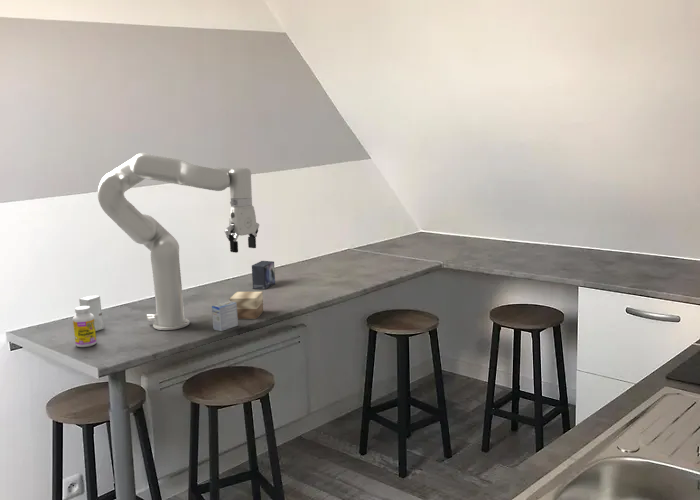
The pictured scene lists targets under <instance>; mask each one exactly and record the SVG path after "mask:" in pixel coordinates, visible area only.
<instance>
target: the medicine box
mask: <svg viewBox="0 0 700 500" xmlns="http://www.w3.org/2000/svg"><path fill="white" fill-rule="evenodd" d="M211 315H212V326H213V327H212V328H213V329H214V330H215V331H219V332H223V331H225V330H229V329H232V328H235V327H237V326H239V323H238V322H239V319H238V318H237V303H235V302H231V301H230V300H227V301H224V302H220V303H216V304H214V305H212V306H211Z"/></svg>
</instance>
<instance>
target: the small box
mask: <svg viewBox="0 0 700 500" xmlns="http://www.w3.org/2000/svg"><path fill="white" fill-rule="evenodd" d="M275 270H276V269H275V261H269V260H260V261H258V262H256V263H254V264H252V265H251V279H252V290H253V289H255V290H267V289H268V288H271V287H272V286H274V285H276V276H275V275H276V273H275Z"/></svg>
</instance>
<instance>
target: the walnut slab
mask: <svg viewBox="0 0 700 500" xmlns="http://www.w3.org/2000/svg"><path fill="white" fill-rule="evenodd" d="M263 313H264V302H263V303H262V304H261V305H260V306H259V307H258V308H257V309H237V318H238V320H244V319H245V320H249V319H250V320H257V319H258V318H259V317H260V315H262V314H263Z"/></svg>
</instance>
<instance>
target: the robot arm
mask: <svg viewBox="0 0 700 500" xmlns="http://www.w3.org/2000/svg"><path fill="white" fill-rule="evenodd" d="M144 180H150V181H151V180H152V181H157V182H162V183H170V184H174V185H180V186H186V187H187V186H188V187H190V188H191V187H193V188H197V189H202V190H209V191H215V192H221V191H225V190H226V189H228V188H229V189H230V191H229V192H230V201H229V204H230V208H229V218H228V219H229V220H228V221H229V224H228V226H227V227H226V229H224V233H225V236H226V238H227V239H228V242H229V249H230V253H236V254H237V253H239V243H238V241H237V240H238V238H239V236H240V237H241V236H248V237H247V245H248V246H247V247H248V248H250V249H256V248H257V239H256V238H257V237H258V236H257V235H258V232H259V228H260V224H259V223H258V222H257V218H256V217H257V216H256V211H255V207H254V205H253V193H252V192H253V191H252V190H253V189H252V173H251V169H250V168H247V167H235V168H224V167H214V168H212V167H206V166H203V165H202V166H201V165H197V164H193V163H190V162H187V161H185V160H183V159H177V158H170V157H166V156H165V157H164V156H159V155H154V154H151V153H148V152H139V153H137V154H136V155H134V156H133V157H132V158H130V159H128V160H127V161H125V162H124V163H122V164H121V165H119V166H118V167H115V168H114V169H113V170H111V171H110V172H109V171H108V172H107V173H106V174H105V175H104V176H102V178H101V180H100V182H99V185H98V188H97V199H98V203H99V206H100V208H101V209H102V211H103V212H104V213H105V214H106V215H107V216H108V217H109V218H110V219H111V220H112V221H113V222H114V223H115V224H116V225H117V226H118V227H119V228H120V229H121V230H122V231H123V232H124V233H125V234H126V235H127V236H128V237H129V238H131V240H132V241H133V242H135V243H137V244H138V245H144V247H145V248H147V249H148V250H149V251H150V263H151V269H152V278H153V286H154V287H153V289H154V298H155V299H154V300H155V311H156V313H155V314H154V313H148V314H146V319H147V321H148V322H149V321H150V322H151V321H152V322H153V324H152V327H153V328H154V329H155V330H158V331H172V330H173V331H174V330H178V329H183V328H185V327H187V326H188V325H190V320H189V319H188V318H185V309H184V297H183V288H182V287H183V286H182V285H183V283H182V276H181V275H182V274H181V264H180V245H179V242H178V239H176V238H175V236H173V234H171V232H169V231H168V230H167V229H166V228H165V227H163V225H162V224H161V223H160V222H159V221H157V220H156V219H155V218H154V217H152V216H151V215H148V214H145V213H144V214H143V213H141V211H139V210H138V209H137V208H136V207H135V206H134V204H133V203H131V202H130V201H129V200H128V199H127V198H126V196H125V192H127V191H128V190H130V189H131V188H133V187H134V186H136V185H137V184H139V183H141V182H142V181H144Z"/></svg>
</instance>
